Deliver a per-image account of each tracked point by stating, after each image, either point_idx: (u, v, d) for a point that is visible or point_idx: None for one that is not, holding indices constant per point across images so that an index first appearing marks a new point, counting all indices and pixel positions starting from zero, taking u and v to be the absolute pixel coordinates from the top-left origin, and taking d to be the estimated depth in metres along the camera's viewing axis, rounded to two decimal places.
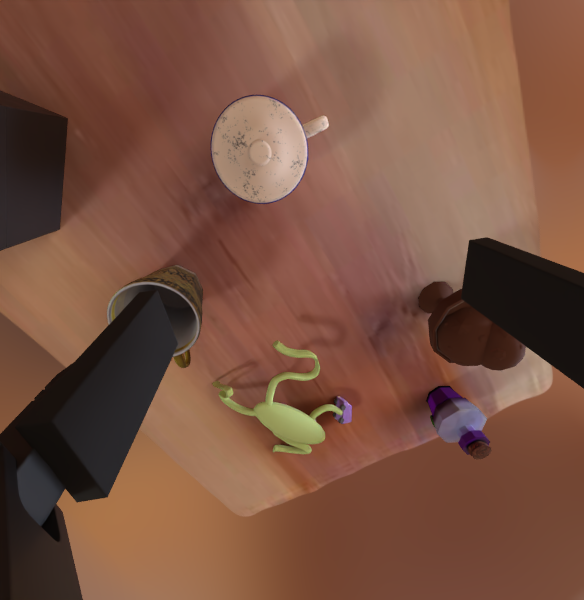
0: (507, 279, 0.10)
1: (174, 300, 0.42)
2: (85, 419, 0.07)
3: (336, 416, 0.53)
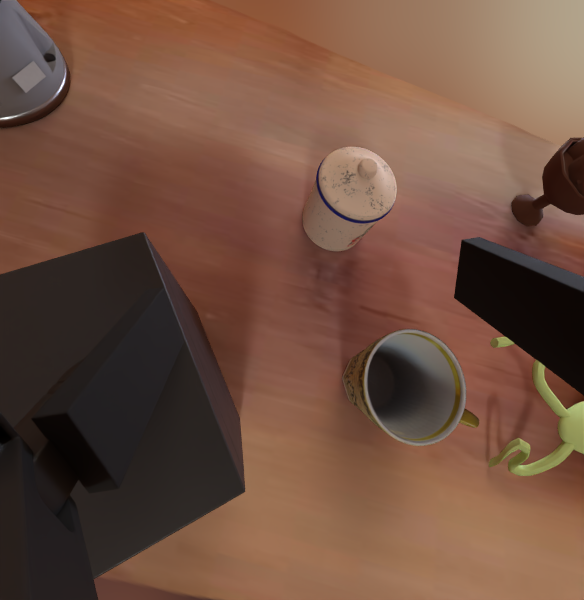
0: (498, 278, 0.10)
1: (377, 396, 0.34)
2: (97, 412, 0.07)
3: None
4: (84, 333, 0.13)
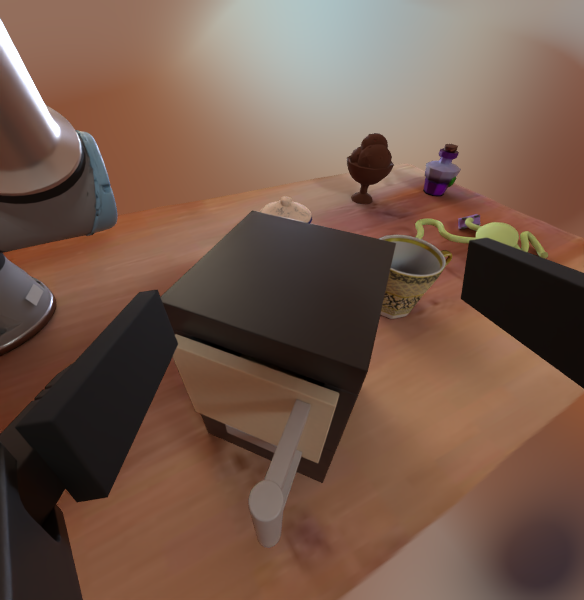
0: (508, 279, 0.10)
1: None
2: (85, 419, 0.07)
3: (477, 222, 0.65)
4: (274, 240, 0.23)
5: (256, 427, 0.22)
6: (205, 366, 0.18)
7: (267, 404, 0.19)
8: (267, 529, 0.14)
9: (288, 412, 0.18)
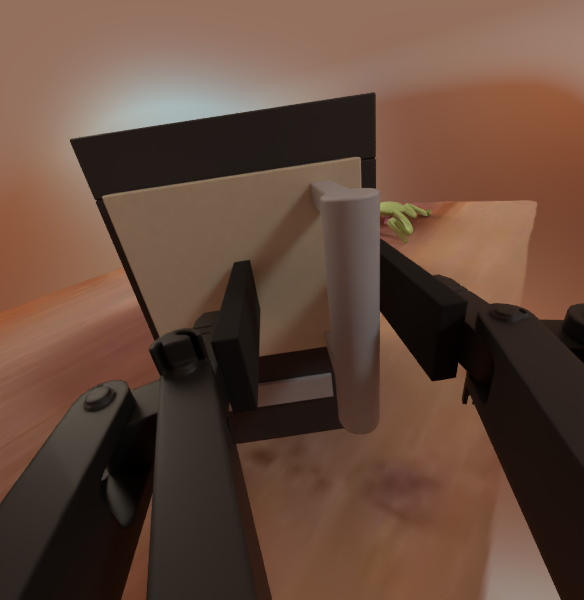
0: (383, 274, 0.12)
1: None
2: (245, 345, 0.09)
3: None
4: None
5: (269, 323, 0.15)
6: (170, 212, 0.13)
7: (275, 239, 0.13)
8: (371, 265, 0.08)
9: (305, 233, 0.13)
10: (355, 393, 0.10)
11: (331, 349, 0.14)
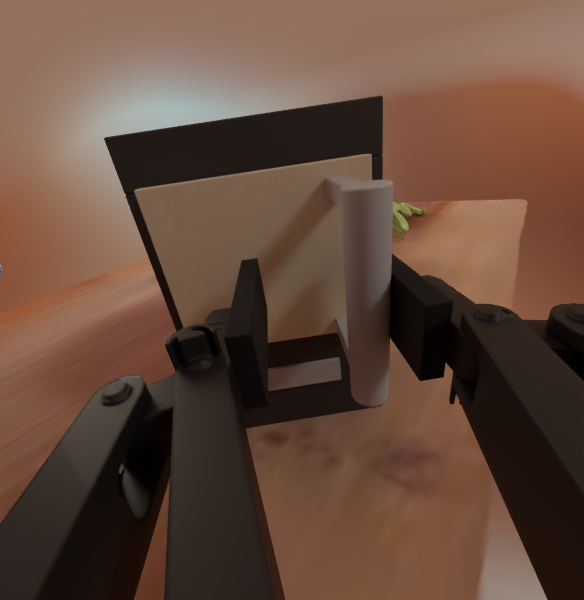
0: None
1: None
2: (257, 341, 0.09)
3: None
4: None
5: (284, 309, 0.16)
6: (196, 204, 0.14)
7: (291, 230, 0.14)
8: (384, 248, 0.09)
9: (319, 225, 0.14)
10: (368, 367, 0.11)
11: (342, 333, 0.15)
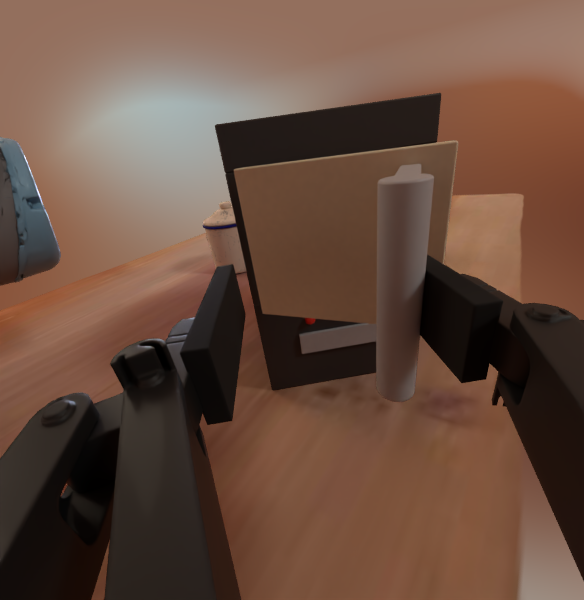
0: None
1: None
2: (218, 354, 0.08)
3: None
4: None
5: (343, 292, 0.17)
6: (278, 184, 0.16)
7: (359, 216, 0.15)
8: (413, 244, 0.09)
9: None
10: (388, 360, 0.11)
11: None
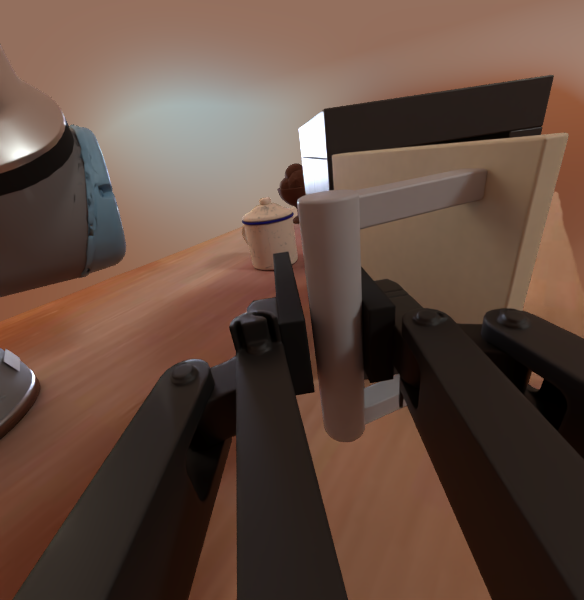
0: None
1: None
2: None
3: None
4: None
5: None
6: (357, 175, 0.15)
7: (417, 226, 0.12)
8: (314, 273, 0.08)
9: (445, 232, 0.11)
10: (319, 387, 0.10)
11: None
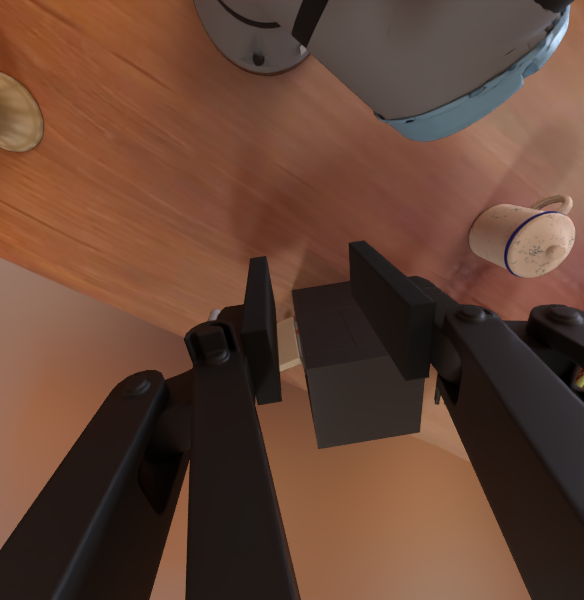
0: (363, 276, 0.12)
1: None
2: (270, 337, 0.09)
3: None
4: (391, 382, 0.32)
5: None
6: None
7: None
8: None
9: None
10: (212, 316, 0.37)
11: None
